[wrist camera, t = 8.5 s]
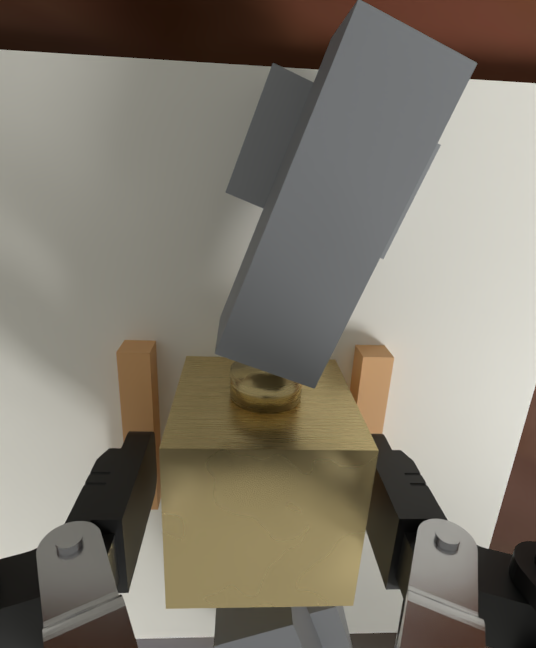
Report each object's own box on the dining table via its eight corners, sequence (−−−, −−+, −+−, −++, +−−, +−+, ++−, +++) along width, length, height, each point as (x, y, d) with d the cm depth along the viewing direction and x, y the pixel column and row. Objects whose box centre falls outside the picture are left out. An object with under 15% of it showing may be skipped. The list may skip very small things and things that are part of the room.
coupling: (186, 333, 14) (157, 417, 9) (337, 337, 14) (383, 420, 10) (188, 496, 16) (166, 630, 12) (319, 496, 17) (349, 626, 12)
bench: (452, 608, 21) (525, 764, 16) (24, 617, 20) (-60, 791, 14) (590, 87, 13) (830, 34, 8) (-95, 44, 12) (-376, -56, 7)
